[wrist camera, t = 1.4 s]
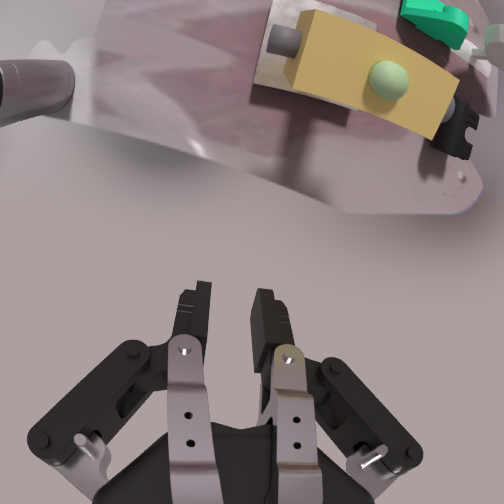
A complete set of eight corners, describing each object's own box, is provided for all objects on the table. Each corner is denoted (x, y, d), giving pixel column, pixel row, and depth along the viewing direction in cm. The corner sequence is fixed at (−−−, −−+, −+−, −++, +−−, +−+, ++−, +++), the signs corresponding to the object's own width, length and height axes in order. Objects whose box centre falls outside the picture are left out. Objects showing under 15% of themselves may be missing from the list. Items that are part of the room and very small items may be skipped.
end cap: (432, 91, 34) (457, 95, 29) (458, 106, 35) (482, 112, 30) (421, 142, 40) (444, 152, 34) (447, 154, 41) (469, 164, 35)
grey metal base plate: (252, 84, 35) (254, 83, 30) (272, -4, 27) (279, -18, 22) (349, 110, 37) (366, 113, 32) (368, 27, 29) (387, 20, 24)
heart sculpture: (443, 45, 29) (517, 47, 14) (444, 24, 27) (516, 20, 11) (492, 81, 31) (558, 98, 16) (494, 62, 29) (559, 74, 13)
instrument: (257, 51, 28) (262, 84, 15) (267, 10, 24) (285, -1, 11) (371, 85, 31) (452, 153, 17) (385, 49, 26) (480, 95, 13)
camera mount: (455, 20, 25) (491, 15, 16) (450, 50, 29) (488, 49, 20) (402, -14, 24) (434, -30, 15) (396, 16, 28) (430, 4, 19)
